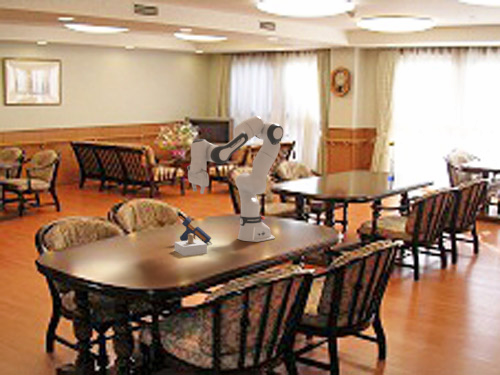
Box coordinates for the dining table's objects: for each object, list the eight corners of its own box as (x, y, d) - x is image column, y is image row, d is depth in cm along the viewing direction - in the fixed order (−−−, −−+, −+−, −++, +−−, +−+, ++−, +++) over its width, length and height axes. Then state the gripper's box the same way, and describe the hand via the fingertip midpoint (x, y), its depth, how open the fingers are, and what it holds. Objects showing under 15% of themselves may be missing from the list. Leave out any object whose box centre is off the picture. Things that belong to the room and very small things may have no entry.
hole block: (197, 248, 374) (197, 239, 373) (206, 253, 364) (206, 244, 363) (174, 250, 367) (174, 242, 367) (183, 255, 357) (183, 246, 356)
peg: (191, 251, 368) (192, 233, 366) (194, 252, 365) (194, 234, 364) (186, 251, 366) (187, 233, 365) (189, 252, 364) (189, 235, 362)
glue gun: (201, 258, 385) (213, 242, 382) (168, 231, 387) (179, 215, 383) (204, 255, 390) (216, 240, 387) (171, 228, 392) (182, 213, 388)
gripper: (211, 170, 364) (211, 194, 366) (196, 165, 382) (195, 189, 384) (201, 170, 361) (201, 195, 363) (186, 166, 379) (185, 190, 381)
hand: (198, 192), depth 374 cm, fingers open, 8 cm apart
